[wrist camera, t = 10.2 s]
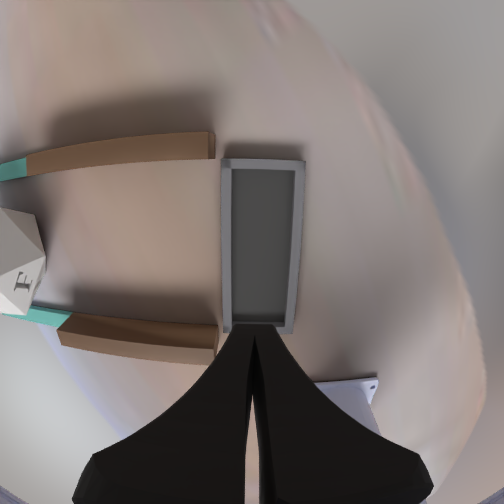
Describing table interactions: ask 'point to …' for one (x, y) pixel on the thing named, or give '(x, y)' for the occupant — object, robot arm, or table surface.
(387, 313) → the table surface
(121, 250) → the table surface
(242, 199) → the grey flat rectangular tray
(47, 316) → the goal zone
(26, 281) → the die
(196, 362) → the channel
